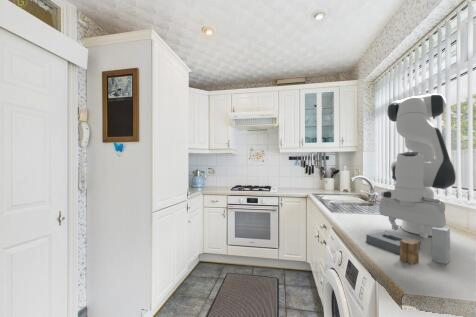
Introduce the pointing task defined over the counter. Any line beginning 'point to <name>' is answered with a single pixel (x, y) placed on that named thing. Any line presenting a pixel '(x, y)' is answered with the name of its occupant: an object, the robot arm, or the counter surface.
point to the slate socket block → (387, 240)
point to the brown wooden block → (409, 251)
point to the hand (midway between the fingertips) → (408, 233)
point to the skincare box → (441, 244)
